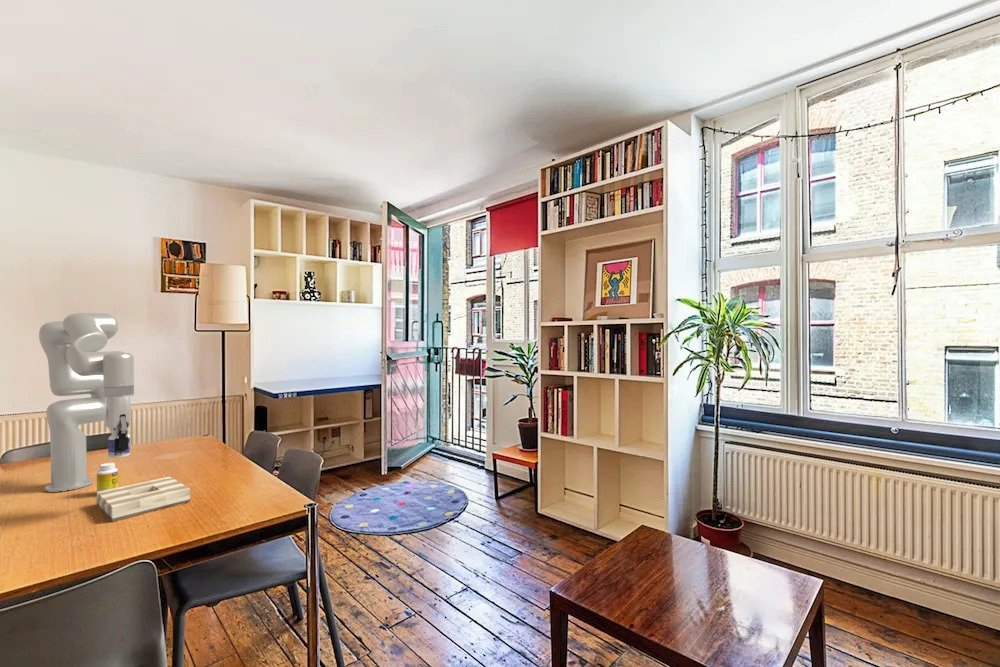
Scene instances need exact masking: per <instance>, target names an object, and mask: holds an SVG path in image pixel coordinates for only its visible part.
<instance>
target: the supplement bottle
mask: <svg viewBox="0 0 1000 667" xmlns="http://www.w3.org/2000/svg"><path fill="white" fill-rule="evenodd" d="M118 471H119V469H118V468H116V463H115V462H106V463H101V464H100V465H99V470H98V471H97V472H96V493H97V492H100V491H104V490H109V489H114V488H118V487H119V472H118Z"/></svg>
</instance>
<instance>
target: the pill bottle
mask: <svg viewBox="0 0 1000 667" xmlns="http://www.w3.org/2000/svg"><path fill="white" fill-rule="evenodd" d="M118 428H121V427H118ZM118 431H120V430H118ZM111 434H112V435H111ZM115 438H116V430H115V428H114V429H113V430H111V429H110V435H109V437H108V439H107V441H108V443H107V446H108V448H107V449H108V450H107V452H108V453H107V454H108V458H109V459H118V458H119V459H120V458H123V457H128V456H130V454H131V445H130V444H131V436H130V434H129V433H128V450H123V451H115Z"/></svg>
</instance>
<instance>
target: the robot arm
mask: <svg viewBox="0 0 1000 667" xmlns="http://www.w3.org/2000/svg"><path fill="white" fill-rule="evenodd" d="M40 326H41V327H40V328H39V332H38V338H39V343H40V345H41V348H42V350H43V352H44V353H45V356H46V359H47V365H48V367H47V368H48V376H49V377H48V378H49V386H50V391H51V393H52V394H53V395H54V396H58V397H66V396H67V397H68V396H69V397H70V396H79V395H80V396H81V395H90V397H80V398H79V397H78V398H69V399H62V400H58V401H55V402H52V403H50V405H48V406H47V408H46V412H45V414H46V419H47V424H48V428H49V438H50V440H49V441H50V444H49V445H50V484H48V485H46V486H45V487H44V491H45V492H47V491H48V493H60V492H59V491H62V492H68V491H67V490H69V491H73V489H74V490H77V489H81V488H84V487H87V486H89V485H91V484H92V483H93V479H92V478H90V477H88V476H87V473H88V472H87V471H88V470H87V469H88V468H87V467H88V466H87V463H88V462H87V459H88V458H87V435H86V434H85V433H84V431H83V430H81V429H80V428H78V426H80V425H84V424H86V425H87V424H92V423H93V424H94V423H98V422H103V421H105V424H104V425H105V427H106V428H108V429H109V430H110V431H111V430H113V429H114V428H115V430H116V438H115V451H123V450H128V434H129V433H128V428H130V427H131V424H132V421H131V418H132V416H131V415H132V411H131V407H132V406H131V397H133V396H134V395H135V389H134V388H135V383H134V382H135V374H134V371H135V368H134V367H135V366H134V365H135V364H134V363H135V362H134V358H135V357H134V355H133V354H132V353H130V352H124V351H117V350H116V351H101V350H102V349H104V348H105V347H106V346H107V344H108V340H110V339H111V338H113V337H115V335H117V333H118V330H119V323H118V321H117V319H116V318H115V317H114V315H113V314H112V315H111V314H109V313H95V312H94V313H92V312H79V313H78V312H77V313H72V314H69V315H67V316H66V317H64V319H63V321H50V322H46V323H44V324H42V325H40ZM118 427H121V428H118ZM118 430H120V431H118ZM111 435H112V434H111V433H110V436H111Z"/></svg>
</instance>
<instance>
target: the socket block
mask: <svg viewBox="0 0 1000 667" xmlns="http://www.w3.org/2000/svg"><path fill="white" fill-rule="evenodd" d="M186 502H189V503H191V488H190V487H188V486H187V485H185V484H183V483H182V482H180V481H178V480H177V479H175V478H173V477H171V476H166V477H161V478H156V479H151V480H146V481H142V482H138V483H133V484H130V485H129V484H128V485H125V486H118V488H114V489H109V490H104V491H100V492H97V491H96V506H98V507H99V508H100V509H101V510H102V511H103V512H104V513H103V512H102V511H101V510H100V509H99V508H98V507H97V508H98V509H99V510H100V511H101V512H102V513H103V514H104V515H105V516H106V517H107V518H108V519H109V520H110V521H111V522H112V523H115V522H118V520H119V521H122V519H123V520H126V519H130V518H133V516H134V517H137V515H138V516H141V515H140V514H142V515H144V513H146V514H148V512H150V513H153V512H152V511H154V512H156V511H155V510H158V511H160V510H159V509H161V510H164V509H163V508H165V509H168V508H167V507H169V508H172V507H171V506H173V507H176V506H175V505H177V506H179V505H178V504H181V505H183V504H182V503H185V504H187V503H186ZM114 521H115V522H114Z"/></svg>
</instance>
